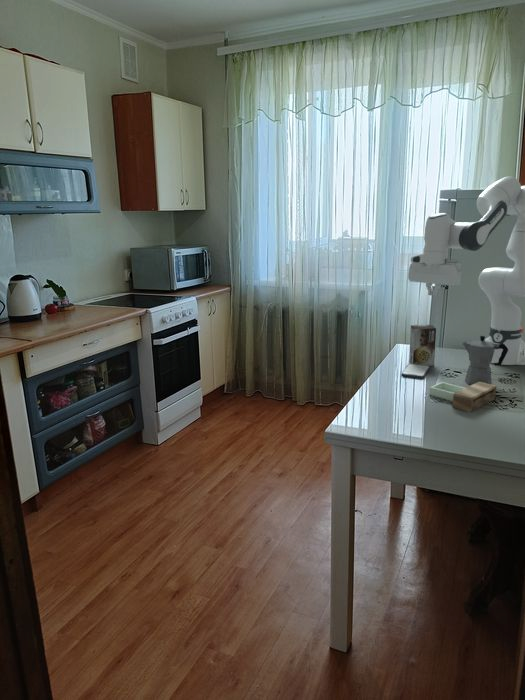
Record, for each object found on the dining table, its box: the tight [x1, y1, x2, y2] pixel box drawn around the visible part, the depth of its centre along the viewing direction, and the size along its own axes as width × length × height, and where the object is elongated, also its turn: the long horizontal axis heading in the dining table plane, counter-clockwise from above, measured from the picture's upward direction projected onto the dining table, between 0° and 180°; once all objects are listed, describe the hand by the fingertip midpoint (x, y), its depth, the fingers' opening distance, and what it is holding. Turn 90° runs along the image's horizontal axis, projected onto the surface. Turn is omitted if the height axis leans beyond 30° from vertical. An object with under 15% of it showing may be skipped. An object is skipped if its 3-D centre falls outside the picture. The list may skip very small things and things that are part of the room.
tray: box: [428, 381, 465, 403], centre depth 174 cm, size 8×16×3 cm, turn 41°
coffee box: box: [408, 324, 437, 367], centre depth 212 cm, size 9×6×16 cm
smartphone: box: [401, 363, 431, 380], centre depth 203 cm, size 9×2×16 cm
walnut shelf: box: [452, 382, 497, 413], centre depth 170 cm, size 17×6×5 cm, turn 131°
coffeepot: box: [462, 335, 508, 386], centre depth 187 cm, size 15×9×18 cm, turn 66°
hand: (432, 295), depth 193 cm, fingers closed
